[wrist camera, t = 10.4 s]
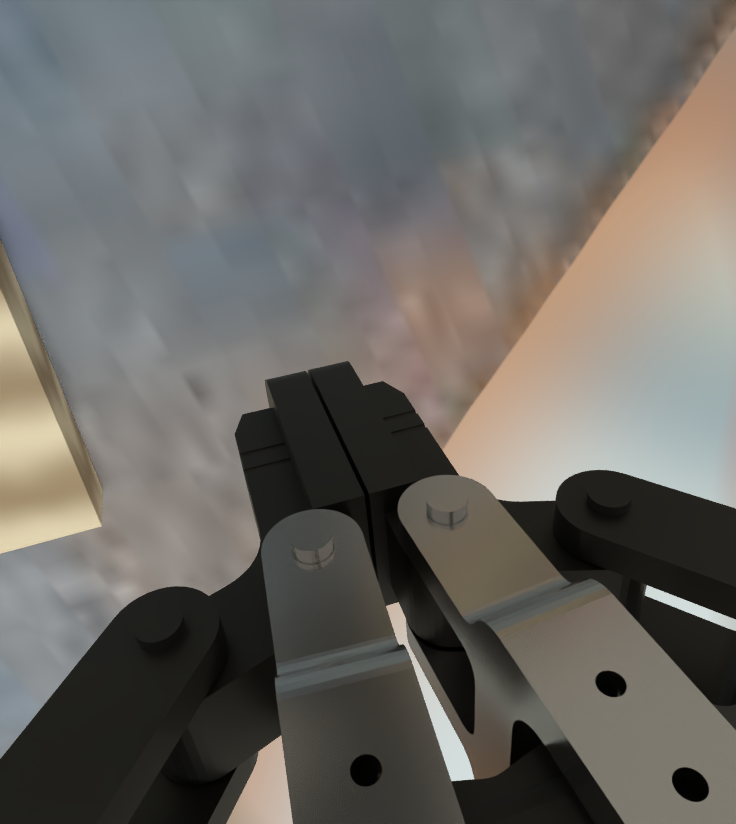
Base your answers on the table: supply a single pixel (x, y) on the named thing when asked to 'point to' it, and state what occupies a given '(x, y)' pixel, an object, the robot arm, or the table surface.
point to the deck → (37, 436)
